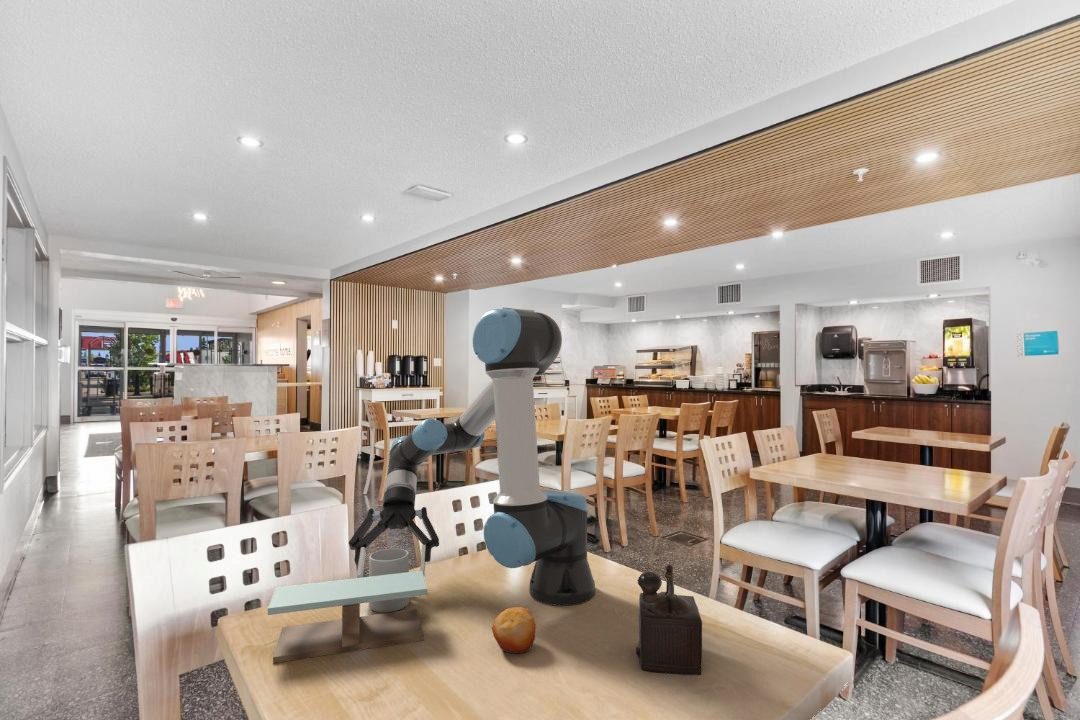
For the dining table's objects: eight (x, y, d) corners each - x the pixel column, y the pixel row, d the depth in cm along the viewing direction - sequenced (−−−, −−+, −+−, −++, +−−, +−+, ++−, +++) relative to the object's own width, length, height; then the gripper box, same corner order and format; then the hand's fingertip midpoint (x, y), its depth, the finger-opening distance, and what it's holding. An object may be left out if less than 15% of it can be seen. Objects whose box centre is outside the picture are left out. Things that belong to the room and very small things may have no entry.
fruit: (545, 629, 107) (538, 602, 103) (533, 668, 100) (525, 641, 96) (506, 623, 109) (498, 596, 105) (492, 661, 103) (483, 634, 99)
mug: (397, 614, 116) (397, 562, 116) (361, 610, 118) (361, 559, 118) (422, 592, 128) (422, 544, 128) (388, 589, 130) (388, 542, 130)
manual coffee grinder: (634, 641, 105) (634, 546, 105) (694, 645, 103) (694, 548, 103) (637, 688, 89) (637, 576, 90) (708, 693, 88) (707, 579, 88)
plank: (422, 576, 116) (422, 570, 116) (427, 594, 107) (427, 588, 107) (276, 593, 108) (276, 587, 108) (267, 615, 98) (267, 608, 98)
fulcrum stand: (416, 613, 117) (416, 575, 117) (422, 640, 105) (422, 598, 105) (282, 632, 109) (282, 591, 109) (272, 663, 97) (273, 617, 97)
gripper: (451, 499, 141) (448, 581, 126) (350, 502, 138) (335, 586, 123) (450, 483, 136) (447, 566, 121) (345, 486, 133) (329, 571, 118)
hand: (390, 576), depth 122 cm, fingers open, 13 cm apart
